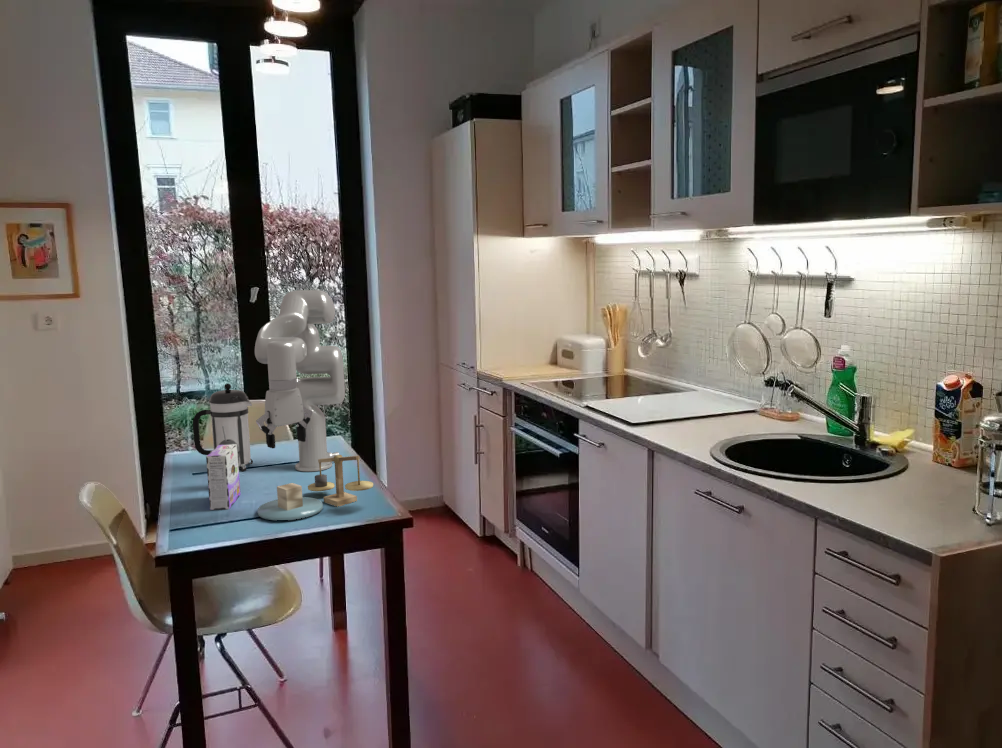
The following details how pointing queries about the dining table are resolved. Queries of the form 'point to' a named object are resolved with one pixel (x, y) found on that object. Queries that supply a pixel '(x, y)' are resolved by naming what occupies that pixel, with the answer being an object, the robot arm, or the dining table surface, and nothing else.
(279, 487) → the block
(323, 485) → the balance
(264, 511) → the dish
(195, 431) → the coffee press
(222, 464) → the candy box
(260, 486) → the dining table surface
